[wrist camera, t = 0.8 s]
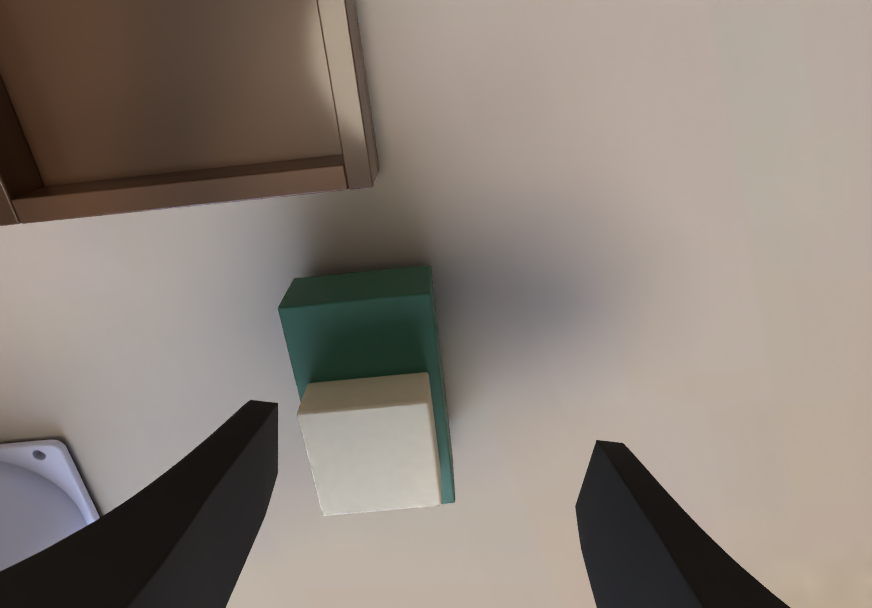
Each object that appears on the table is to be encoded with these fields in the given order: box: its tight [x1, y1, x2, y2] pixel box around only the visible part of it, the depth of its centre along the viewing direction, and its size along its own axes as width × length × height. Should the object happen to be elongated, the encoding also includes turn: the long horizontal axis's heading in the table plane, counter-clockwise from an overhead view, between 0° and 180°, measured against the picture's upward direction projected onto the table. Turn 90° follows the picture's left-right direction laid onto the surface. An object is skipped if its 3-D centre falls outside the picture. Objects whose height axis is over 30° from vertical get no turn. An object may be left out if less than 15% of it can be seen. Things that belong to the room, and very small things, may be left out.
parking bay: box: [0, 0, 379, 226], centre depth 17 cm, size 12×8×2 cm
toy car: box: [278, 265, 455, 516], centre depth 21 cm, size 9×5×5 cm, turn 6°
